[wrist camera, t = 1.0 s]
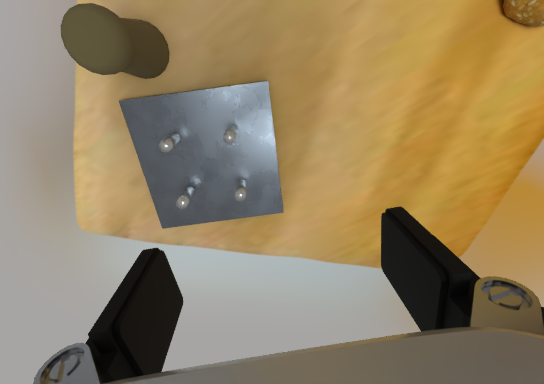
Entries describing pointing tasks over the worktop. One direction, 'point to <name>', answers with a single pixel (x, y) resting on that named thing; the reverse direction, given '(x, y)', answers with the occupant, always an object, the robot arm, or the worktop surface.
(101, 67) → the olive tapered piece
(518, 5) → the bagel
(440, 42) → the worktop surface
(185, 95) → the pin plate
